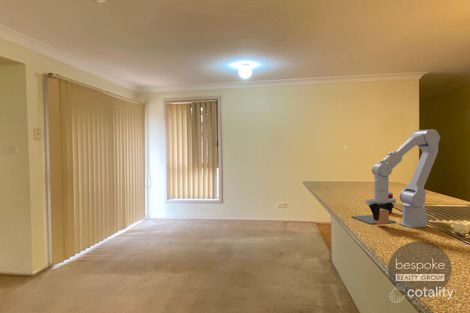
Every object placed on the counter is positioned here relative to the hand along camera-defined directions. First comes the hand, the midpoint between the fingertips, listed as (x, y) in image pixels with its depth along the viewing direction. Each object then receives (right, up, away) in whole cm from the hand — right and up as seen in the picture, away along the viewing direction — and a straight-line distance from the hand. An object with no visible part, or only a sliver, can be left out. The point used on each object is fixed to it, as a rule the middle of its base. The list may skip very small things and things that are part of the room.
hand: (380, 219), depth 135 cm
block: (0, -2, 0) cm, 2 cm away
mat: (+2, -3, +11) cm, 12 cm away
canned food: (+16, -2, +28) cm, 33 cm away
